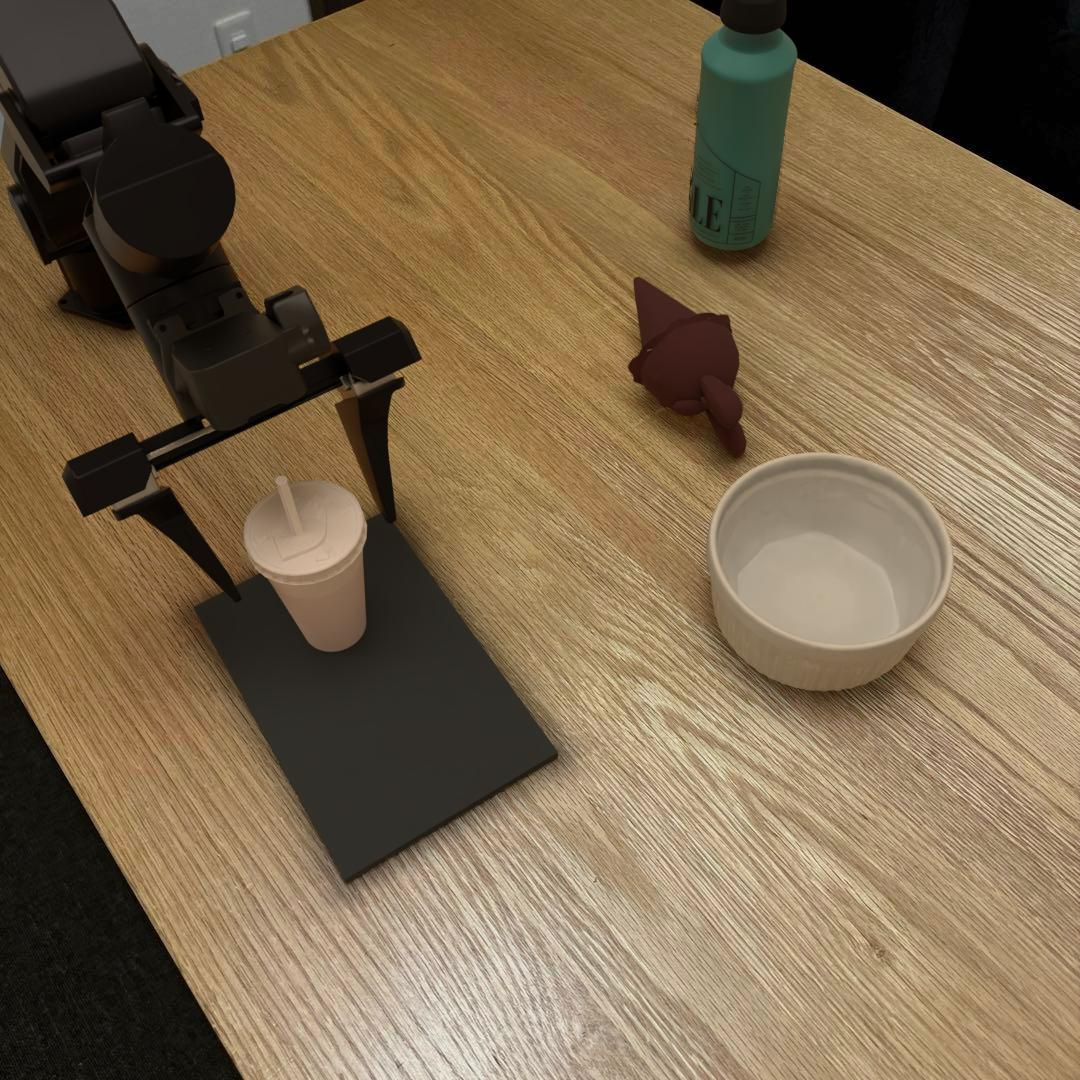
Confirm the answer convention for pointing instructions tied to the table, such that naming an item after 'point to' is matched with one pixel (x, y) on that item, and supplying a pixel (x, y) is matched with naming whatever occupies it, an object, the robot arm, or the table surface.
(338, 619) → the smoothie
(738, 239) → the beverage bottle
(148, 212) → the robot arm
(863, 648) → the ramekin
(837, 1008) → the table surface
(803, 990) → the table surface
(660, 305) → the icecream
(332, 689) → the mat
